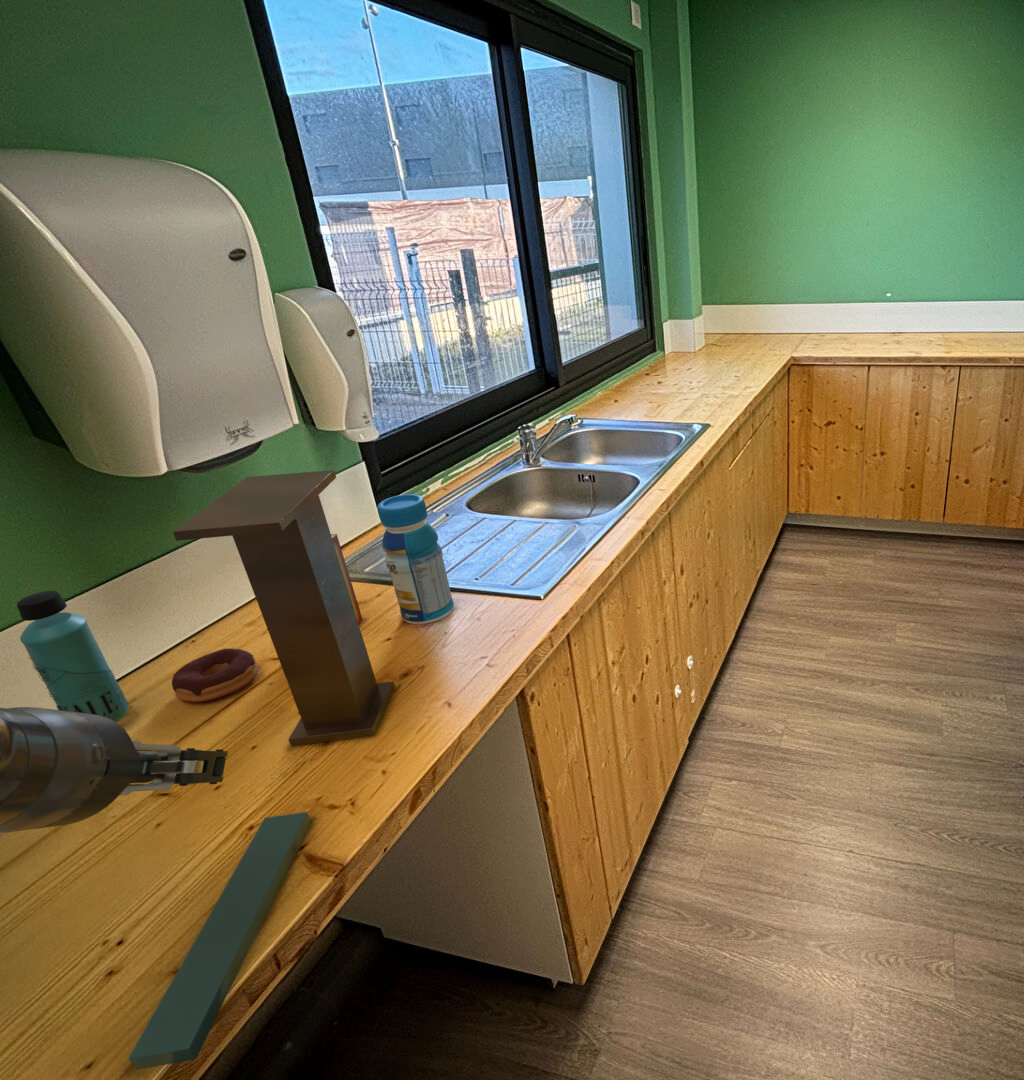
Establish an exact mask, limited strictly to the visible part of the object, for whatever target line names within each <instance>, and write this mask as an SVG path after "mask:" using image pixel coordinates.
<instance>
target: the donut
mask: <svg viewBox="0 0 1024 1080" xmlns="http://www.w3.org/2000/svg"><path fill="white" fill-rule="evenodd" d="M259 671H260V666H259V663H258V662H257V661H256V659H255V657H254V655H253V653H251V652H249V651H247V650H244V649H242V648H241V649H240V648H222V649H219V650H215V651H213V652H210V653H207V654H204V655H202V656H200V657H198V658H195V659H193V660H191V661H189V662H187V663H185V664H184V665H183V666H182V667H180V668H179V669H178V670H177V671H176V672H175V673H173V676H172V679H171V686H172V690H173V691H174V694H175V697H176V698H177V699H179V700H181V701H185V702H193V703H194V702H197V703H198V702H208V701H212V700H216V699H219V698H222V697H225V696H228V695H230V694H232V693H235V692H236V691H238V690H239V691H240V690H241V689H242V688H244V687H245V686H246V685H248V684H250V683H251V682H252V681H253V680H254V679H255V678H256V677H257V676H258V674H259Z"/></svg>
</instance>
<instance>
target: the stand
mask: <svg viewBox="0 0 1024 1080" xmlns="http://www.w3.org/2000/svg"><path fill="white" fill-rule="evenodd" d="M336 478H337V475H336V471H335V470H334V469H329V470H317V471H304V472H293V473H281V474H267V475H254V476H246V477H245V478H244V479H242V480H241V481H239V482H238V483H237V484H235V485H234V486H233V487H231V488H230V489H228V490H227V491H226V492H225V493H223V494H221V495H220V496H219V497H217V498H216V499H215V500H214V501H212V502H211V503H210V504H208V505H207V506H206V507H204V508H203V509H201V510H200V511H199V512H197V513H196V514H194V515H193V516H192V517H191V518H189V519H188V520H186V521H185V522H184V523H183V524H181V525H180V526H178V527H177V528H176V529H175V530H173V531H172V534H173V537H174V538H175V541H176V542H177V541H189V540H200V539H210V538H212V539H213V538H222V537H231V536H232V539H233V542H234V544H235V547H236V549H237V552H238V554H239V557H240V559H241V562H242V565H243V568H244V571H245V573H246V576H247V579H248V581H249V584H250V586H251V589H252V593H253V594H254V597H255V600H256V603H257V605H258V607H259V611H260V613H261V616H262V618H263V621H264V624H265V626H266V629H267V631H268V634H269V637H270V639H271V642H272V646H273V648H274V650H275V653H276V655H277V658H278V661H279V663H280V666H281V670H282V671H283V674H284V676H285V679H286V681H287V685H288V687H289V690H290V692H291V695H292V698H293V700H294V703H295V706H296V709H297V711H298V714H299V717H300V719H299V720H298V722H297V724H296V726H295V727H294V729H293V730H292V732H291V734H290V735H289V737H288V739H287V740H288V742H289V745H290V747H298V746H304V745H312V744H320V743H329V742H336V741H345V740H353V739H361V738H367V737H375V734H376V733H377V730H378V728H379V726H380V723H381V721H382V719H383V716H384V714H385V713H386V710H387V707H388V705H389V704H390V701H391V698H392V696H393V694H394V691H395V690H396V686H395V684H394V681H385V682H378V683H377V679H376V676H375V673H374V670H373V666H372V663H371V660H370V657H369V653H368V650H367V647H366V644H365V640H364V638H363V634H362V630H361V628H360V624H358V621H357V617H356V614H355V611H354V608H353V604H352V601H351V598H350V595H349V592H348V588H347V585H346V582H345V579H344V575H343V572H342V569H341V566H340V562H339V559H338V556H337V553H336V550H335V546H334V543H333V540H332V537H331V534H332V533H331V531H330V527H329V524H328V521H327V520H328V519H327V517H326V514H325V511H324V508H323V505H322V501H321V497H320V494H321V493H322V492H324V490H326V488H327V487H328V486H330V485H331V484H332V483H333V482H334V480H336Z"/></svg>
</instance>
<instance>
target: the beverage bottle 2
mask: <svg viewBox="0 0 1024 1080" xmlns="http://www.w3.org/2000/svg"><path fill="white" fill-rule="evenodd" d="M377 513H378V517H379V521H380V524H381V525H382V526H383V528H385V531H384V533H383V537H382V543H381V546H382V550H383V551H384V552H385V554H386V555H385V560H384V561H385V565H386V567H387V570H388V572H389V575H390V578H391V582H392V585H393V586H392V587H393V589H394V592H395V595H396V599H397V603H398V606H399V607H398V608H399V612H400V616H401V618H402V620H403V621H404V622H406V623H408V624H411V625H427V624H431V623H434V622H438V621H440V620H442V619H444V618H446V617H448V615H449V614H451V613H452V611H453V610H454V607H455V603H454V600H453V596H452V592H451V588H450V584H449V583H450V582H449V579H448V575H447V570H446V566H445V562H444V554H443V548H442V547H441V545H440V544H439V543H438V540H439V535H438V532H437V531H436V530H435V528H434V527H433V526H432V525H431V523H429V522H428V521H426V520H427V519H428V510H427V506H426V502H425V500H424V497H423V496H421V495H419V494H414V493H408V494H399V495H393V496H391V497H387V498H385V499H383V500H381V502H379V503H378V504H377Z"/></svg>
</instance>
